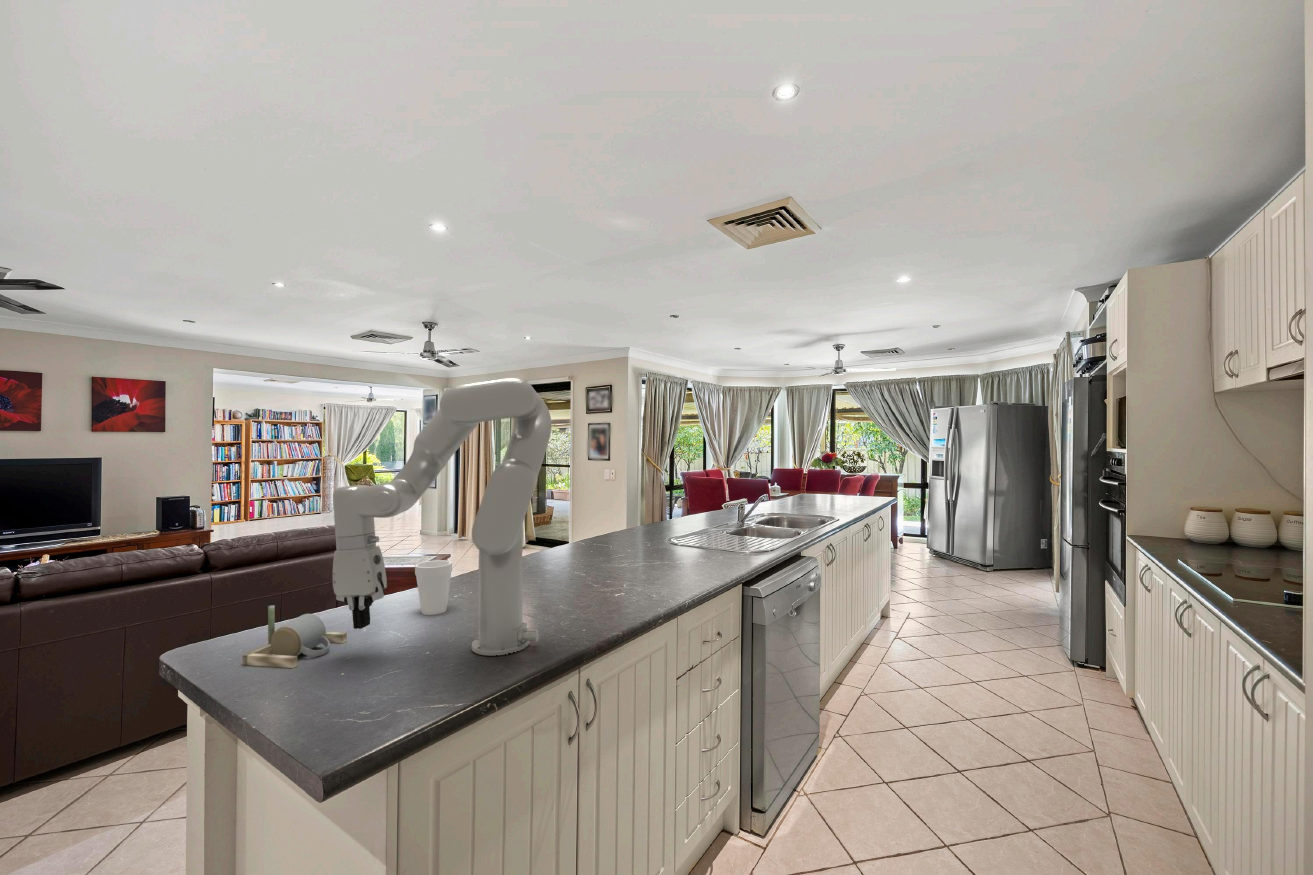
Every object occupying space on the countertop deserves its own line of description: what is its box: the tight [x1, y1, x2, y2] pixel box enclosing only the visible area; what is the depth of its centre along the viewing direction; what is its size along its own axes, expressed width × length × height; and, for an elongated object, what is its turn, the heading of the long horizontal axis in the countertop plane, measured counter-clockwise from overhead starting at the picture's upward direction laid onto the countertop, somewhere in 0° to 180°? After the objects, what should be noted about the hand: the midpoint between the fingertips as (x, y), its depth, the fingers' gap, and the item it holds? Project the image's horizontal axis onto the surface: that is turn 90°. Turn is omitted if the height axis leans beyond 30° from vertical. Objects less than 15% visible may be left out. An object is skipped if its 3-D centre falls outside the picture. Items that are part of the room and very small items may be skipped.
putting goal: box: [241, 604, 348, 669], centre depth 122 cm, size 13×15×10 cm
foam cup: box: [414, 559, 453, 616], centre depth 151 cm, size 10×9×13 cm
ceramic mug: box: [271, 613, 331, 658], centre depth 121 cm, size 11×8×8 cm
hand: (362, 626), depth 120 cm, fingers closed
